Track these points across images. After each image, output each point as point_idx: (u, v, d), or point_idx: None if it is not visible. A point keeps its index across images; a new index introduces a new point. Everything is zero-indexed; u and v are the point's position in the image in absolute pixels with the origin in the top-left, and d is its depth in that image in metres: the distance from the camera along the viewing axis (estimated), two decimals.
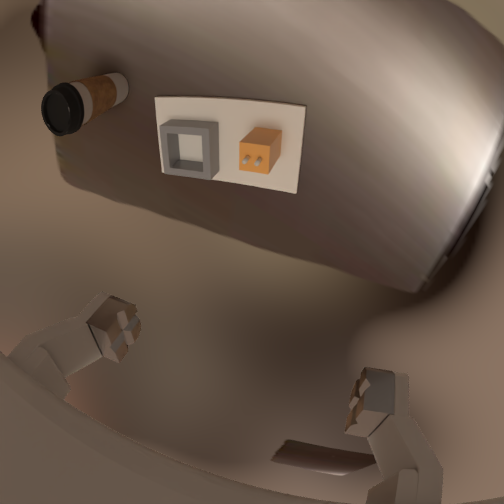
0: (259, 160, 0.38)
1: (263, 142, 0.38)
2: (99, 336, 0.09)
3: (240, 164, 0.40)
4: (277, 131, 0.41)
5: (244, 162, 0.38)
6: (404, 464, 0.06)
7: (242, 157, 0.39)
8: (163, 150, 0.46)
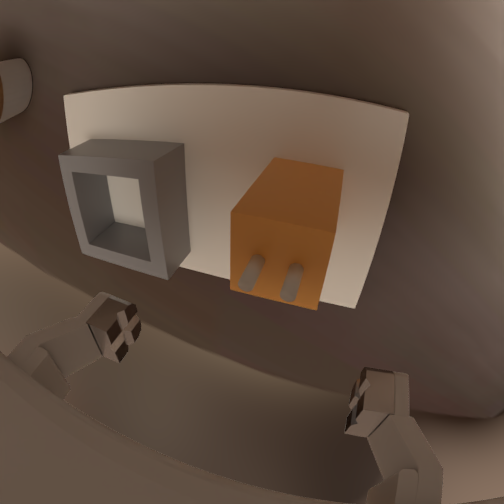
0: (297, 280, 0.11)
1: (310, 215, 0.12)
2: (99, 336, 0.09)
3: (234, 276, 0.14)
4: (333, 172, 0.16)
5: (246, 286, 0.11)
6: (404, 464, 0.06)
7: (240, 258, 0.13)
8: (72, 208, 0.20)
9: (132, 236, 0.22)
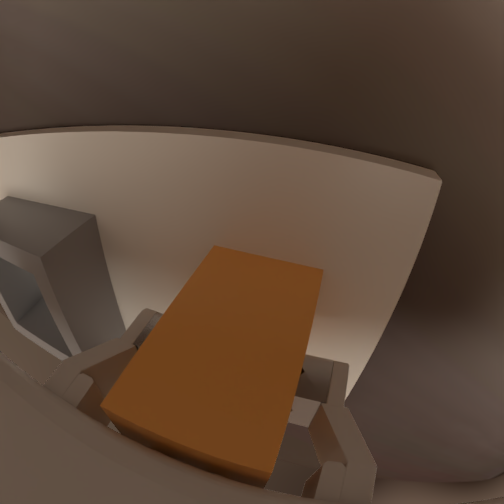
0: None
1: (234, 423, 0.06)
2: None
3: None
4: (305, 280, 0.10)
5: None
6: (336, 456, 0.06)
7: None
8: None
9: None
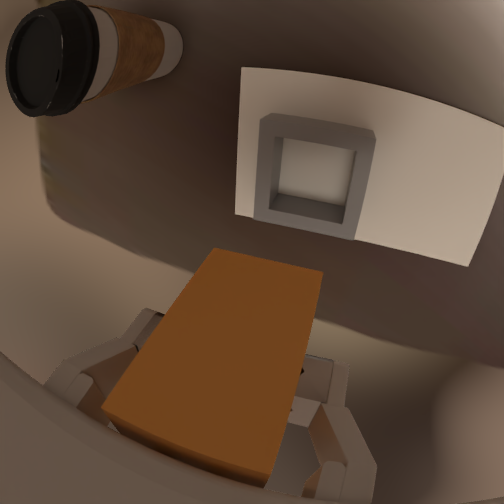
0: None
1: (234, 425, 0.06)
2: None
3: None
4: (305, 282, 0.10)
5: None
6: (336, 456, 0.06)
7: None
8: (260, 172, 0.23)
9: (307, 205, 0.26)
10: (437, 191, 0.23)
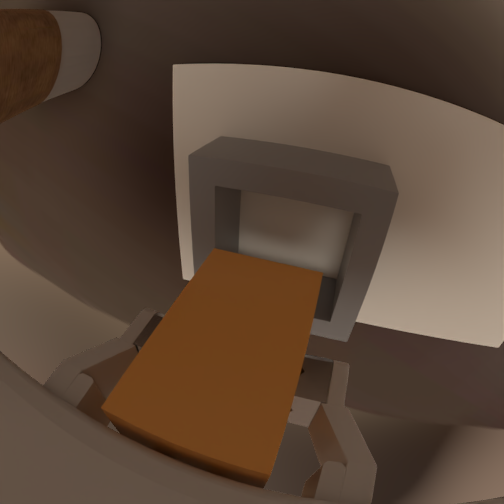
0: None
1: (234, 425, 0.06)
2: None
3: None
4: (304, 282, 0.10)
5: None
6: (336, 456, 0.06)
7: None
8: (198, 241, 0.15)
9: None
10: (478, 259, 0.14)
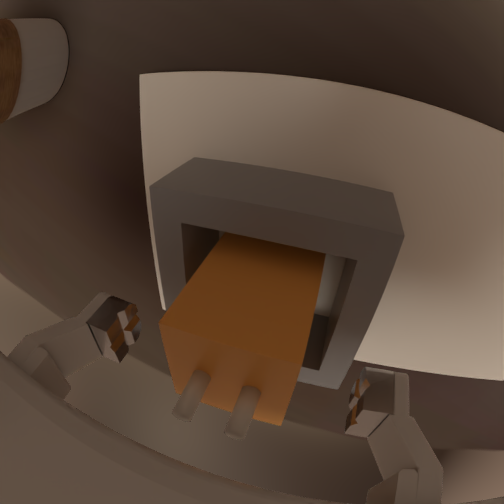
0: (248, 414, 0.08)
1: (270, 329, 0.08)
2: (99, 336, 0.09)
3: (177, 383, 0.10)
4: None
5: (183, 417, 0.08)
6: (404, 464, 0.06)
7: (180, 369, 0.09)
8: (167, 282, 0.12)
9: None
10: (488, 295, 0.12)
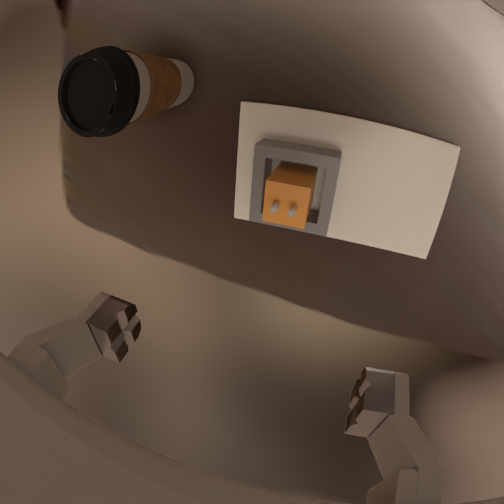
0: (295, 208, 0.26)
1: (300, 183, 0.27)
2: (99, 336, 0.09)
3: (264, 212, 0.28)
4: (312, 168, 0.31)
5: (273, 210, 0.26)
6: (404, 464, 0.06)
7: (268, 203, 0.28)
8: (254, 184, 0.31)
9: None
10: (394, 197, 0.31)
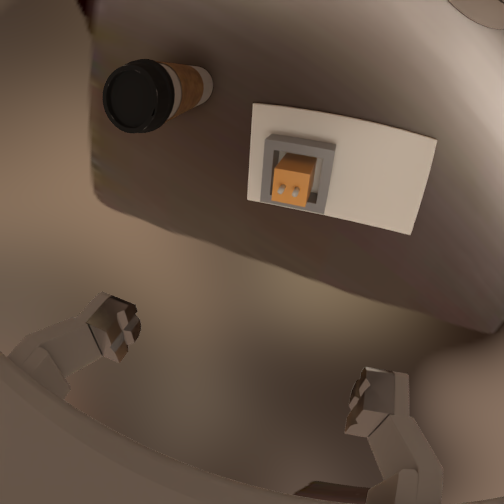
0: (297, 190, 0.33)
1: (301, 170, 0.34)
2: (99, 336, 0.09)
3: (273, 194, 0.35)
4: (312, 158, 0.38)
5: (280, 192, 0.33)
6: (404, 464, 0.06)
7: (276, 186, 0.35)
8: (264, 171, 0.38)
9: None
10: (381, 182, 0.37)
